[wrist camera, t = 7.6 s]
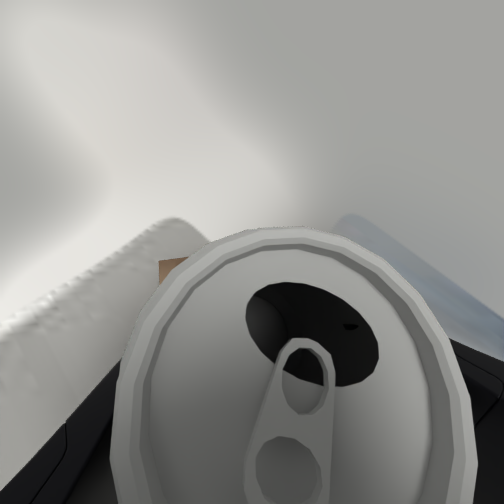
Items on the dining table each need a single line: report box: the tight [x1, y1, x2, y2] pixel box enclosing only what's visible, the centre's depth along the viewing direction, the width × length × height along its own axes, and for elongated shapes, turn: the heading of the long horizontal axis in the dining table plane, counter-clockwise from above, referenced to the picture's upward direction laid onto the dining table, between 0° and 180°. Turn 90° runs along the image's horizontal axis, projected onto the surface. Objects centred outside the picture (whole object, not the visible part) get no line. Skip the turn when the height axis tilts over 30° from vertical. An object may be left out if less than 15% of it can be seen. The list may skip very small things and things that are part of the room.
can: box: [110, 226, 478, 504], centre depth 9 cm, size 8×8×12 cm
